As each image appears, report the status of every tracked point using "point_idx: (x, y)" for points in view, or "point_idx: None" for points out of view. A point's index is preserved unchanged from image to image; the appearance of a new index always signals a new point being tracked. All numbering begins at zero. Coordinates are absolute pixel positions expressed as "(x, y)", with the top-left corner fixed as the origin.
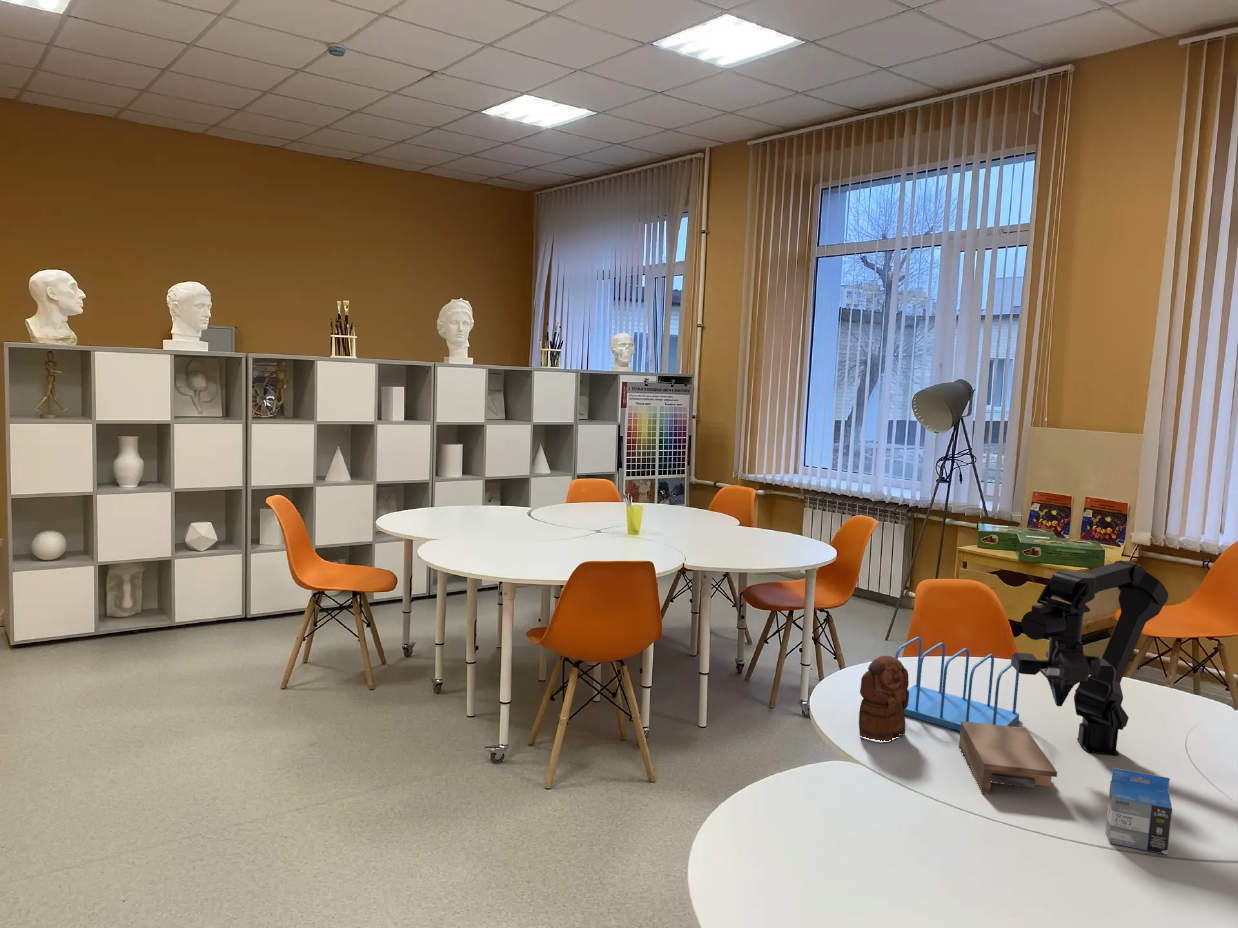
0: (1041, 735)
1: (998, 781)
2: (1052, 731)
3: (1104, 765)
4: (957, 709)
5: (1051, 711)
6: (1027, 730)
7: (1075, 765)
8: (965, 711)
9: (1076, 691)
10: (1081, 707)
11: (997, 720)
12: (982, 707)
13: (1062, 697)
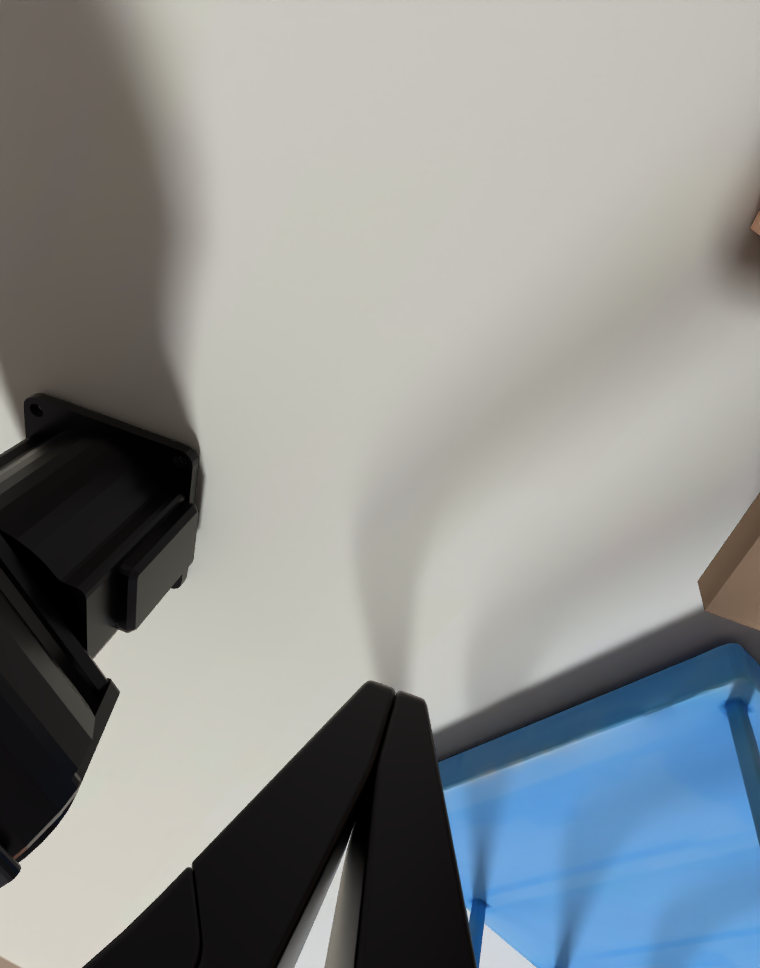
0: (353, 652)
1: None
2: (267, 671)
3: (173, 277)
4: (703, 932)
5: (172, 798)
6: (738, 564)
7: (377, 289)
8: (673, 908)
9: (9, 863)
10: (64, 701)
11: (557, 801)
12: (526, 903)
13: (339, 807)
